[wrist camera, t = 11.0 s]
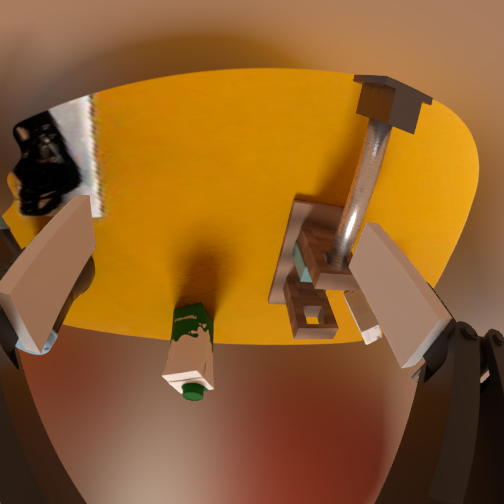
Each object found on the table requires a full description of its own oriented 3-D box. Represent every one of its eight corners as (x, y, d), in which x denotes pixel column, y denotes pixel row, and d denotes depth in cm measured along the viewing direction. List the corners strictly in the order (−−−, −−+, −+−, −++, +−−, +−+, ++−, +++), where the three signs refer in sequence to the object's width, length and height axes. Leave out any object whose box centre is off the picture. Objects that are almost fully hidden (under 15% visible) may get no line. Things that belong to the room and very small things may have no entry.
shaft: (343, 257, 47) (362, 291, 40) (307, 253, 46) (320, 289, 39) (395, 90, 31) (432, 98, 24) (354, 74, 30) (387, 76, 23)
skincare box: (342, 293, 62) (359, 332, 52) (359, 284, 61) (379, 323, 51) (348, 308, 66) (364, 346, 56) (365, 300, 65) (382, 337, 55)
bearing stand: (318, 302, 63) (334, 352, 51) (267, 299, 61) (276, 353, 49) (353, 208, 50) (388, 253, 38) (293, 199, 48) (315, 244, 36)
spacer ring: (329, 257, 55) (342, 284, 48) (291, 254, 53) (300, 281, 47) (334, 245, 53) (348, 270, 46) (295, 241, 52) (305, 267, 45)
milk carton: (186, 331, 66) (179, 403, 50) (168, 307, 61) (155, 383, 45) (218, 323, 65) (218, 398, 49) (203, 298, 60) (197, 378, 44)
